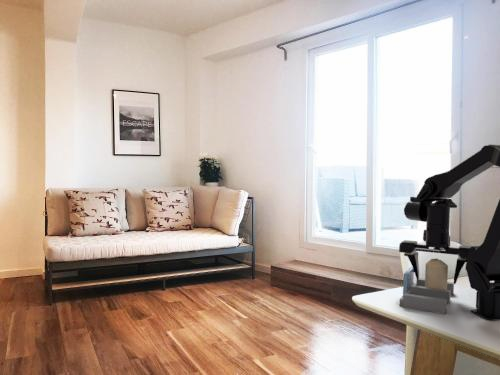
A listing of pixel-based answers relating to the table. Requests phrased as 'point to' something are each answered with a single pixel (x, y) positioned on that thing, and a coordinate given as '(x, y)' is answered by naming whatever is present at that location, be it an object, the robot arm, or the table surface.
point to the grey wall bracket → (424, 294)
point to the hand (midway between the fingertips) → (435, 281)
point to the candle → (436, 274)
